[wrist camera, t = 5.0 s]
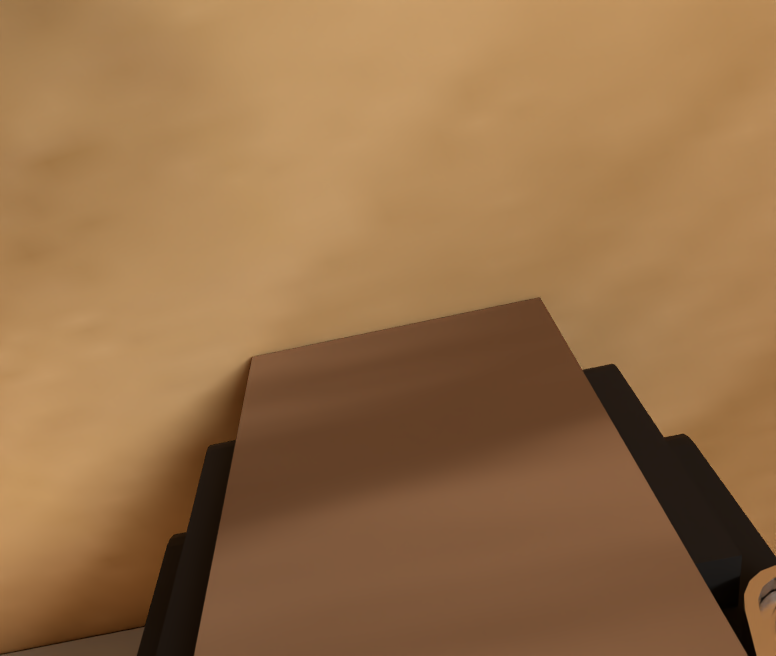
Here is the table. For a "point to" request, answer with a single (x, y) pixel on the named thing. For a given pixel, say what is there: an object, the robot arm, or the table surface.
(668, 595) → the walnut block
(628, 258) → the table surface
